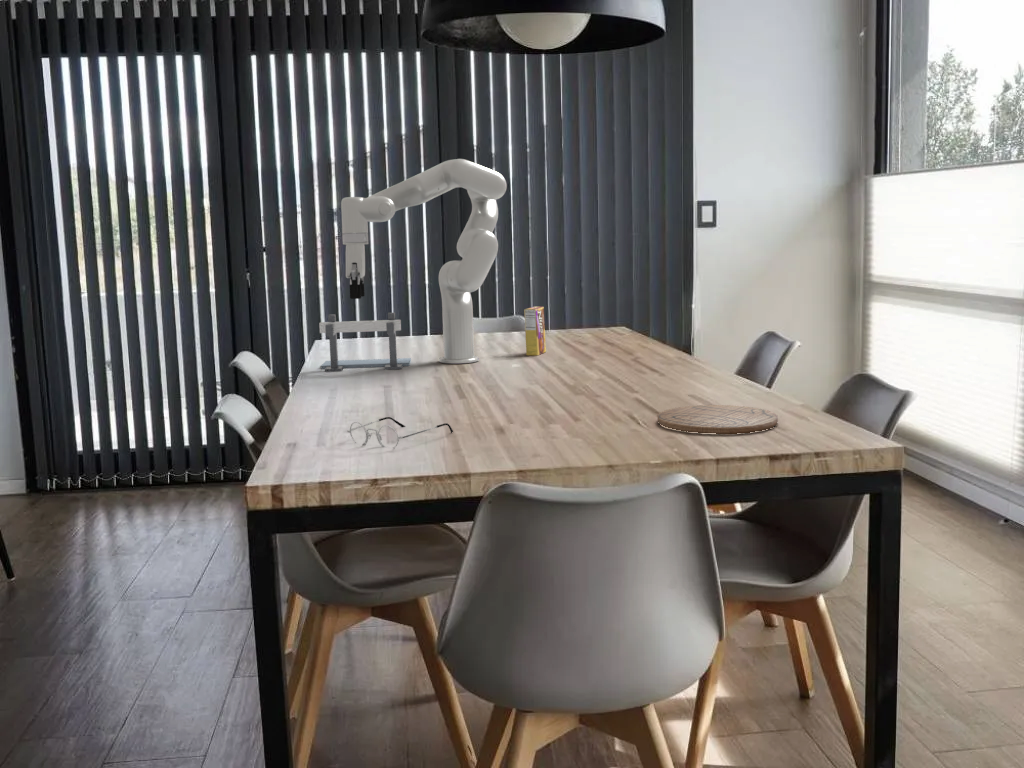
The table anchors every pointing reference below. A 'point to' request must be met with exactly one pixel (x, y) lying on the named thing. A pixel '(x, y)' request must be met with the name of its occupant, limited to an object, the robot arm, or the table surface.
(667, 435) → the table surface
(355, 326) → the steel rail
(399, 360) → the rubber mat
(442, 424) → the eyeglasses
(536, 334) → the candy box
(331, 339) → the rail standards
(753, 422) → the trivet
